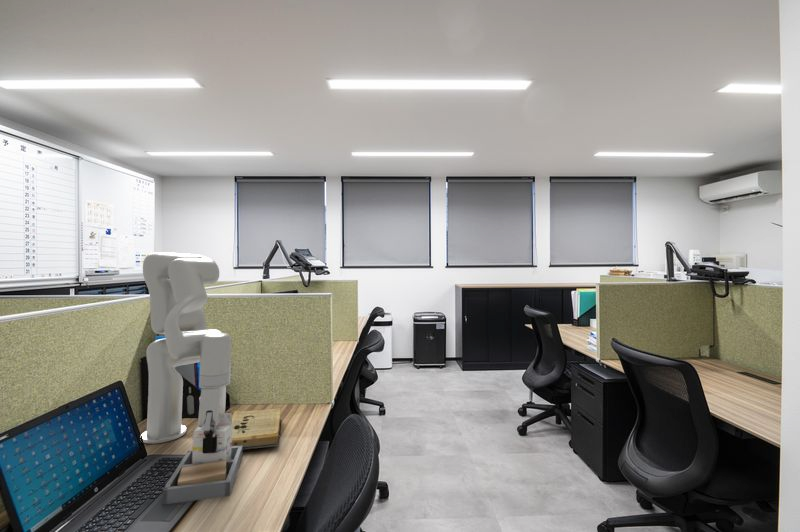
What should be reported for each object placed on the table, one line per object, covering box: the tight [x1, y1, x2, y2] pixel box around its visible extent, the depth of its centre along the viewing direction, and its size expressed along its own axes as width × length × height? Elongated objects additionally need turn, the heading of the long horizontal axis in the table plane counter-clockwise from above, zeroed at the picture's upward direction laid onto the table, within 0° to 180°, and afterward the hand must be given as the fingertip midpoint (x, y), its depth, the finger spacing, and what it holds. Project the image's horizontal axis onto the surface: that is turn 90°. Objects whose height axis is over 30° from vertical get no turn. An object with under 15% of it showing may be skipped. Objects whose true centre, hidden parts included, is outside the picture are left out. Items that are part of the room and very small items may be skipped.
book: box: [232, 406, 283, 451], centre depth 117 cm, size 25×17×6 cm
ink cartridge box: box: [192, 412, 233, 464], centre depth 97 cm, size 9×5×15 cm, turn 92°
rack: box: [161, 445, 244, 506], centre depth 92 cm, size 19×14×4 cm
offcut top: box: [178, 460, 227, 486], centre depth 88 cm, size 7×10×2 cm
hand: (212, 446), depth 97 cm, fingers closed on ink cartridge box, 5 cm apart
